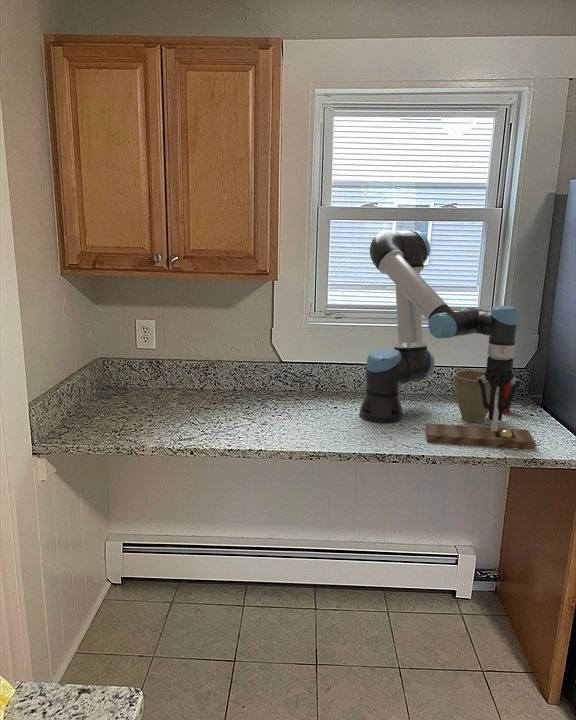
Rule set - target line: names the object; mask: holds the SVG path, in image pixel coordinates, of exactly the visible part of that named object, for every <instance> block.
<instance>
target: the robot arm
mask: <svg viewBox="0 0 576 720" xmlns="http://www.w3.org/2000/svg"><path fill="white" fill-rule="evenodd" d="M430 253H431V246H430V242H429V239H428V238H427V236H426V235H425V234H424V233H423V232H421V231H418V230H412V229H405V230H399V229H398V230H391V229H390V230H383V231H381V232H379V233H378V234H376V235H375V236H374V237H373V238H372V240H371V242H370V246H369V256H370V257H369V258H370V259H371V260H370V261H372V263H373V265H374V266H375V268H376V269H377V270H378V271H379V272H380V273H381V274H385V275H387V276H388V277H389V279H390V280H391V281H392V282H393V283H394V285H395V301H396V302H395V303H396V304H395V305H396V319H397V321H396V322H397V325H396V326H397V342H396V343H395V344H394V345H393V348H380V349H376V350H373V351H371V352H370V353H369V354H368V355H367V357H366V364H365V368H366V369H365V370H366V372H365V394H364V398H363V400H362V402H361V404H360V408H359V416H360V415H361V416H360V418H362V417H363V418H365V419H364V420H366V419H367V420H366V421H368V420H370V421H369V422H372V421H374V422H373V423H380V422H381V423H383V424H384V423H387V424H388V423H396V422H399V421H401V420H402V419H403V418H404V417H403V416H404V410H403V406H402V402H401V399H400V386H402V385H405V384H410V383H418V382H421V381H423V380H426V379H427V378H430V375H432V373H433V371H434V368H435V357H434V355H433V354H432V351H430V350H429V349H428V344H427V343H426V342H425V341H424V340H423V326H422V325H423V323H422V322H423V321H422V315H423V316H424V317H425V318H426V320H427V321H428V325H427V327H428V329H429V334H431V335H430V336H433V337H434V338H437V339H449V338H454V337H459V336H467V335H473V334H476V335H477V334H479V335H484V336H488V348H487V355H488V357H487V359H486V361H487V362H486V369H485V371H484V372H485V373H484V375H483V376H481V377H477V381H478V383H479V384H480V389H481V395H482V401H483V405H484V408H487V409H489V412H488V414H487V415H488V420H489V421H491V423H490V427H491V430H492V431H497V428H498V423H499V421H502V418H503V414H502V412H503V410H508V409H509V407H510V404H511V405H512V401H513V399H514V396H515V394H516V391H517V388H518V387H519V386H520V385H521V380H520V379H519V378H516V377H515V376H514V373H513V368H514V356H515V344H516V334H517V327H518V314H519V313H518V309H517V308H516V307H515V306H510V305H494V306H492V308H491V310H485V309H480V308H479V309H478V308H476V307H462V308H461V309H460V310H458V311H454V310H453V309H452V308H451V307H450V306H449V305H448V304H447V303H446V301H444V300H443V298H442V297H441V296H440V295H439V294H438V293H437V292H436V291H435V289H433V288H432V286H430V284H428V282H427V281H426V280H425V279H424V278H423V277H422V276H421V274H420V273H421V272H422V270H424V268H425V267H424V266H425V265H424V264H425V262H426V261H427V260H428V257H429V256H430ZM485 379H487V381H488V382H489V384H490V385H491V389H490V400H489V404H488V402H487V397H486V391H485V386H484V383H485ZM511 380H512V381H511ZM510 381H511V383H512V385H511V387H510V389H509V392H508V395H507V398H506V400H505V403H504V405H503V402H504V391H505V386H506V385H507V384H508V383H509V382H510ZM498 386H499V396H498V409H494V404H495V394H496V387H498ZM363 418H362V419H363Z"/></svg>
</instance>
